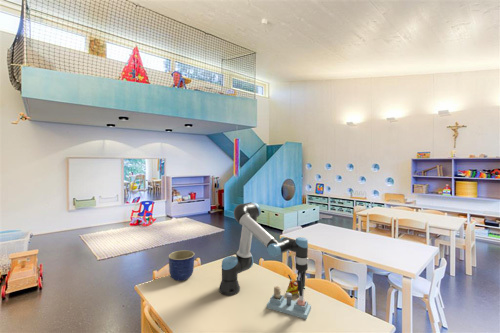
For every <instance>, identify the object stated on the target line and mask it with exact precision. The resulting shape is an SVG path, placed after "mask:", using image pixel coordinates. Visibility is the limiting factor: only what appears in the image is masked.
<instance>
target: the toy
mask: <svg viewBox="0 0 500 333" xmlns="http://www.w3.org/2000/svg"><path fill="white" fill-rule="evenodd" d="M287 276H288V278H289V283H288V286H287V289H286V293H291V294H292V296H293V295H296V294H297V297H299V291H298V283H297V279H295V280H294V279H292V277H291V275H290V274H287Z"/></svg>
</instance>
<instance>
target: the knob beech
mask: <svg viewBox="0 0 500 333" xmlns="http://www.w3.org/2000/svg"><path fill="white" fill-rule="evenodd" d="M281 289H282V288H281V287H280V286H279V285H278V286H273V294H274V299H278V300H280V299H281V295H282V293H281V291H282V290H281Z"/></svg>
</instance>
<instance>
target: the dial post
mask: <svg viewBox="0 0 500 333" xmlns="http://www.w3.org/2000/svg"><path fill="white" fill-rule="evenodd" d="M285 296H286V299H287V306H291V300H292V296H293V295H292V294H291V293H289V292H286V293H285Z"/></svg>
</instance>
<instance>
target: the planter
mask: <svg viewBox="0 0 500 333" xmlns="http://www.w3.org/2000/svg"><path fill="white" fill-rule="evenodd" d="M195 255H196V254H195V252H194V251H192V250H185V249H182V250H176V251H173V252H171V253H169V254H168V268H169V269H168V271H169V276H170V278H171V279H173V281H178V282H182V281H186V280H188V279H190V278H191V277H192V276H193V273H194V269H195Z"/></svg>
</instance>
